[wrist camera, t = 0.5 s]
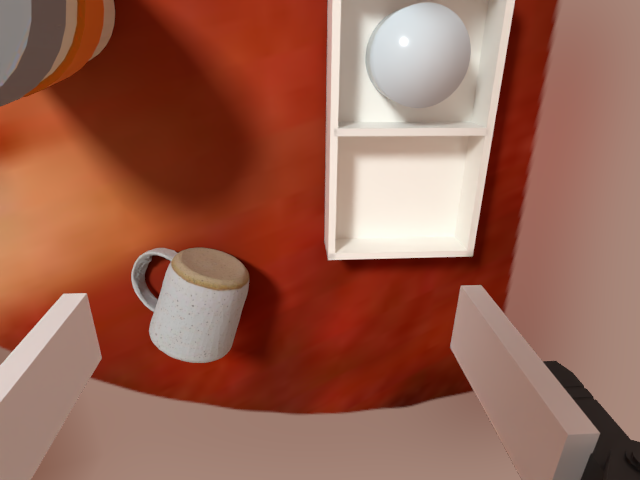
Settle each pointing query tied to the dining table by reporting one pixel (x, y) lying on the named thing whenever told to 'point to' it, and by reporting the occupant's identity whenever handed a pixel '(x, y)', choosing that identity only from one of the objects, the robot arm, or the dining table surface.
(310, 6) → the dining table surface
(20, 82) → the reusable coffee cup
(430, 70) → the white dome
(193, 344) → the ceramic mug
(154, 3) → the dining table surface
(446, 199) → the caddy
